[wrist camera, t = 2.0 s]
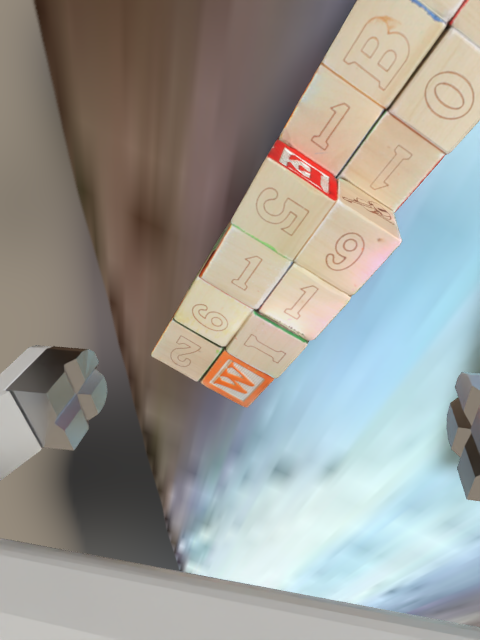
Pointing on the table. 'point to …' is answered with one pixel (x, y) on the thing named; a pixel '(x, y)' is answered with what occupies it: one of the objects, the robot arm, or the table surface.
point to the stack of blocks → (330, 192)
